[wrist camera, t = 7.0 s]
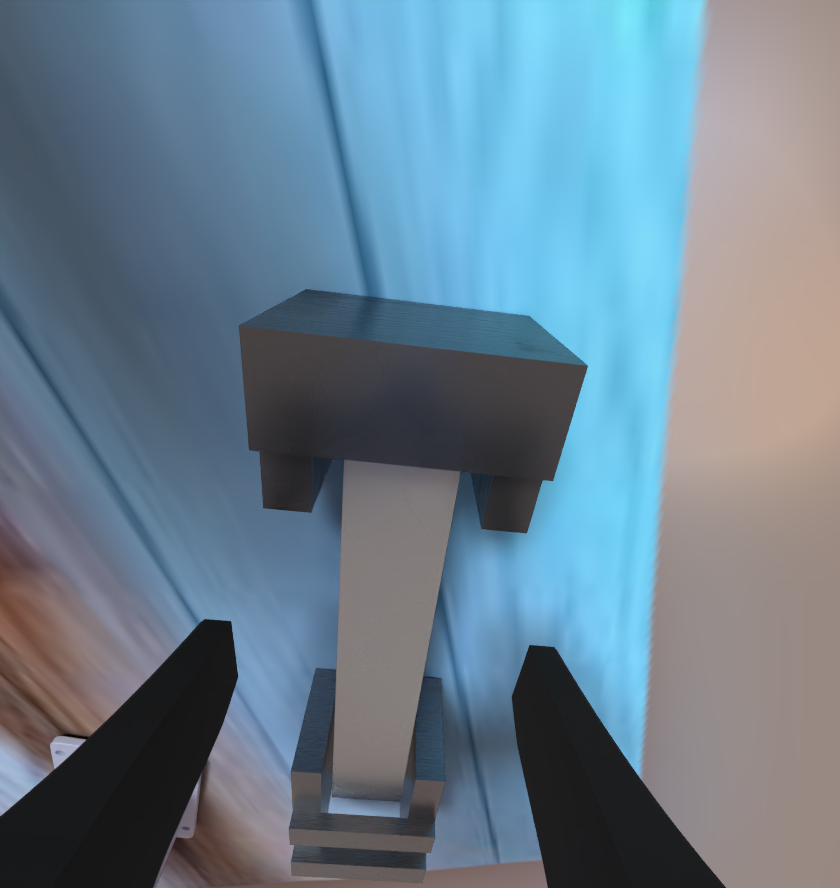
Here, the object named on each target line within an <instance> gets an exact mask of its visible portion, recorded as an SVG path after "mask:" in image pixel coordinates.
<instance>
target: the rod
mask: <svg viewBox="0 0 840 888" xmlns="http://www.w3.org/2000/svg"><path fill="white" fill-rule="evenodd" d="M460 473H461V472H459V471H450V470H440V469H430V468H420V467H410V466H400V465H391V464H381V463H371V462H361V461H351V460H344V475H343V502H342V530H341V558H340V585H339V613H338V641H337V668H336V696H335V724H334V752H333V779H332V797H339V798H355V799H370V800H385V801H400V799H401V793H402V788H403V782H404V777H405V772H406V766H407V761H408V755H409V750H410V744H411V739H412V734H413V728H414V723H415V717H416V712H417V706H418V701H419V696H420V690H421V685H422V679H423V674H424V669H425V663H426V658H427V652H428V647H429V641H430V636H431V631H432V625H433V620H434V614H435V609H436V603H437V598H438V593H439V587H440V582H441V576H442V571H443V565H444V560H445V555H446V549H447V544H448V538H449V533H450V528H451V522H452V517H453V511H454V506H455V500H456V495H457V490H458V484H459V479H460Z"/></svg>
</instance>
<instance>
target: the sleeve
mask: <svg viewBox="0 0 840 888" xmlns="http://www.w3.org/2000/svg"><path fill="white" fill-rule="evenodd" d="M335 696H336V670H328V669H316V670H315V674H314V678H313V682H312V686H311V691H310V695H309V699H308V703H307V707H306V711H305V715H304V719H303V724H302V728H301V732H300V736H299V740H298V744H297V748H296V752H295V757H294V761H293V765H292V769H291V784H292V804H293V813H292V817H291V822H290V826H289V838H290V845H294V850H293V855H292V859H291V871H292V876H306V877H324V878H341V879H359V880H377V881H396V882H413V883H422V882H423V879H424V875H425V872H426V853H431V850H432V847H433V843H434V840H435V817H436V814H437V810H438V806H439V803H440V799H441V795H442V792H443V788H444V784H445V766H444V740H443V715H442V690H441V678H429V677H423V679H422V685H421V690H420V696H419V701H418V706H417V712H416V717H415V723H414V728H413V734H412V739H411V744H410V750H409V755H408V761H407V766H406V772H405V777H404V782H403V788H402V793H401V800H400V818H394V817H378V816H363V815H347V814H331V813H328V808H329V802H330V796H331V790H332V779H333V752H334V724H335Z"/></svg>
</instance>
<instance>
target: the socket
mask: <svg viewBox="0 0 840 888" xmlns="http://www.w3.org/2000/svg"><path fill="white" fill-rule="evenodd" d="M239 331H240V343H241V356H242V368H243V380H244V393H245V405H246V417H247V430H248V442H249V450H253V451H260V465H261V480H262V494H263V508H268V509H278V510H288V511H299V512H309V513H311V512H312V509H313V506H314V504H315V501H316V499H317V496H318V494H319V491H320V489H321V486H322V483H323V481H324V478H325V476H326V473H327V471H328V468H329V466H330V463H331V460H332V459H341V460H351V461H361V462H371V463H381V464H391V465H400V466H410V467H420V468H430V469H440V470H450V471H459V472H469V473H471V477H472V482H473V487H474V493H475V498H476V503H477V508H478V513H479V519H480V524H481V529H487V530H498V531H508V532H519V533H527V531H528V528H529V524H530V521H531V518H532V514H533V511H534V507H535V504H536V500H537V497H538V493H539V490H540V487H541V483H542V480H548V481H553V479H554V476H555V472H556V469H557V466H558V463H559V459H560V456H561V453H562V449H563V446H564V443H565V440H566V436H567V433H568V430H569V426H570V423H571V420H572V417H573V413H574V410H575V407H576V403H577V400H578V397H579V394H580V390H581V387H582V384H583V380H584V377H585V374H586V371H587V367H588V365H586V364H585V363H584V362H583V361H582V360H581V359H579V358H578V357H577V356H576V355H575V354H573V353H572V352H571V351H570V350H569V349H568V348H566V347H565V346H564V345H563V344H562V343H560V342H559V341H558V340H557V339H556V338H555V337H553V336H552V335H551V334H550V333H549V332H547V331H546V330H545V329H544V328H543V327H542V326H540V325H539V324H538V323H537V322H536V321H534V320H533V319H532V318H531V317H530V316H525V315H516V314H508V313H500V312H491V311H483V310H475V309H466V308H458V307H450V306H441V305H433V304H424V303H416V302H408V301H399V300H391V299H383V298H374V297H366V296H358V295H349V294H341V293H333V292H324V291H316V290H308V289H306V290H304V291H302V292H300V293H299V294H297V295H295V296H293V297H291V298H289V299H287V300H286V301H284V302H282V303H280V304H278V305H276V306H275V307H273V308H271V309H269V310H267V311H265V312H263V313H262V314H260V315H258V316H256V317H254V318H252V319H250V320H249V321H247V322H245V323H243V324H241V325H239Z"/></svg>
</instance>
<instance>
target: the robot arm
mask: <svg viewBox="0 0 840 888" xmlns="http://www.w3.org/2000/svg"><path fill="white" fill-rule="evenodd" d="M237 679H238V672H237V664H236V656H235V648H234V640H233V632H232V624H231V621H221V620H209V619H205V620H203V621H202V622H200V624H199V625H198V626H197V627H196V628H195V629H194V630H193V631H192V632H191V634H190V635H189V636H188V637H187V638H186V639H185V640H184V641H183V642H182V643H181V644H180V646H179V647H178V648H177V649H176V650H175V651H174V652H173V653H172V654H171V655H170V656H169V657H168V659H167V660H166V661H165V662H164V663H163V664H162V665H161V666H160V667H159V668H158V669H157V670H156V671H155V672H154V673H153V674H152V675H151V677H150V678H149V679H148V680H147V681H146V682H145V683H144V684H143V685H142V686H141V687H140V688H139V689H138V690H137V691H136V692H135V693H134V694H133V695H132V696H131V697H130V698H129V699H128V700H127V701H126V702H125V703H124V704H123V705H122V706H121V707H120V708H119V709H118V710H117V711H116V712H115V713H114V714H113V715H112V716H111V717H110V718H109V719H108V720H107V721H106V722H105V723H104V724H103V725H101V726H100V727H99V728H98V729H97V730H96V731H95V732H94V733H93V734H92V735H91V736H90V737H89V738H88V739H87V740H86V739H80V738H74V737H68V736H57V737H56V738H55V739H54V740H53V741H52V743H51V744H50V747H51V753H52V758H53V763H54V768H55V769H54V770H53V771H52V772H51V773H50V774H49V775H48V776H47V777H46V778H44V779H43V780H42V781H41V782H40V783H39V784H38V785H36V786H35V787H34V788H33V789H32V790H31V791H30V792H28V793H27V794H26V795H25V796H24V797H23V798H21V799H20V800H19V801H18V802H17V803H16V804H14V805H13V806H12V807H11V808H10V809H9V810H7V811H6V812H5V813H4V814H3V815H2V816H0V888H156V886H157V883H158V881H159V878H160V876H161V873H162V871H163V868H164V866H165V863H166V861H167V858H168V856H169V854H170V851H171V849H172V846H173V844H174V841H175V839H176V837H179V838H191V837H193V835H194V832H195V830H196V821H197V812H198V803H199V794H200V785H201V776H202V771H203V769H204V766H205V764H206V762H207V759H208V757H209V755H210V753H211V750H212V748H213V746H214V743H215V741H216V739H217V736H218V734H219V732H220V729H221V727H222V725H223V722H224V719H225V716H226V713H227V710H228V707H229V704H230V701H231V698H232V695H233V691H234V688H235V685H236V682H237ZM512 703H513V712H514V721H515V729H516V737H517V745H518V750H519V755H520V759H521V764H522V769H523V773H524V778H525V782H526V787H527V792H528V796H529V801H530V805H531V810H532V814H533V819H534V823H535V828H536V832H537V837H538V841H539V846H540V851H541V855H542V860H543V864H544V870H545V874H546V880H547V885H548V888H726V887H725V886H724V885H723V884H722V882H721V881H720V880H719V879H718V878H717V876H716V875H715V874H714V873H713V872H712V870H711V869H710V868H709V867H708V866H707V864H706V863H705V862H704V861H703V860H702V859H701V857H700V856H699V855H698V853H697V852H696V851H695V850H694V848H693V847H692V846H691V845H690V843H689V842H688V841H687V840H686V838H685V837H684V836H683V835H682V833H681V832H680V831H679V830H678V828H677V827H676V826H675V825H674V823H673V822H672V821H671V819H670V818H669V817H668V815H667V814H666V813H665V811H664V810H663V809H662V807H661V806H660V805H659V803H658V802H657V801H656V799H655V798H654V797H653V795H652V794H651V793H650V791H649V790H648V788H647V787H646V786H645V784H644V783H643V782H642V780H641V779H640V777H639V776H638V775H637V773H636V772H635V771H634V769H633V768H632V766H631V765H630V763H629V762H628V761H627V759H626V758H625V756H624V755H623V753H622V752H621V750H620V749H619V747H618V746H617V744H616V743H615V741H614V740H613V738H612V737H611V736H610V734H609V733H608V731H607V730H606V728H605V727H604V725H603V724H602V722H601V721H600V719H599V718H598V716H597V714H596V713H595V711H594V710H593V708H592V707H591V705H590V703H589V702H588V700H587V699H586V697H585V696H584V694H583V692H582V691H581V689H580V688H579V686H578V684H577V683H576V681H575V680H574V678H573V676H572V675H571V673H570V671H569V670H568V668H567V666H566V665H565V663H564V661H563V660H562V658H561V656H560V655H559V653H558V651H557V650H556V649H555V648H554V647H546V646H534V645H530V646H529V648H528V651H527V654H526V657H525V660H524V663H523V666H522V669H521V672H520V675H519V678H518V680H517V683H516V686H515V689H514V692H513V695H512Z"/></svg>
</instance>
